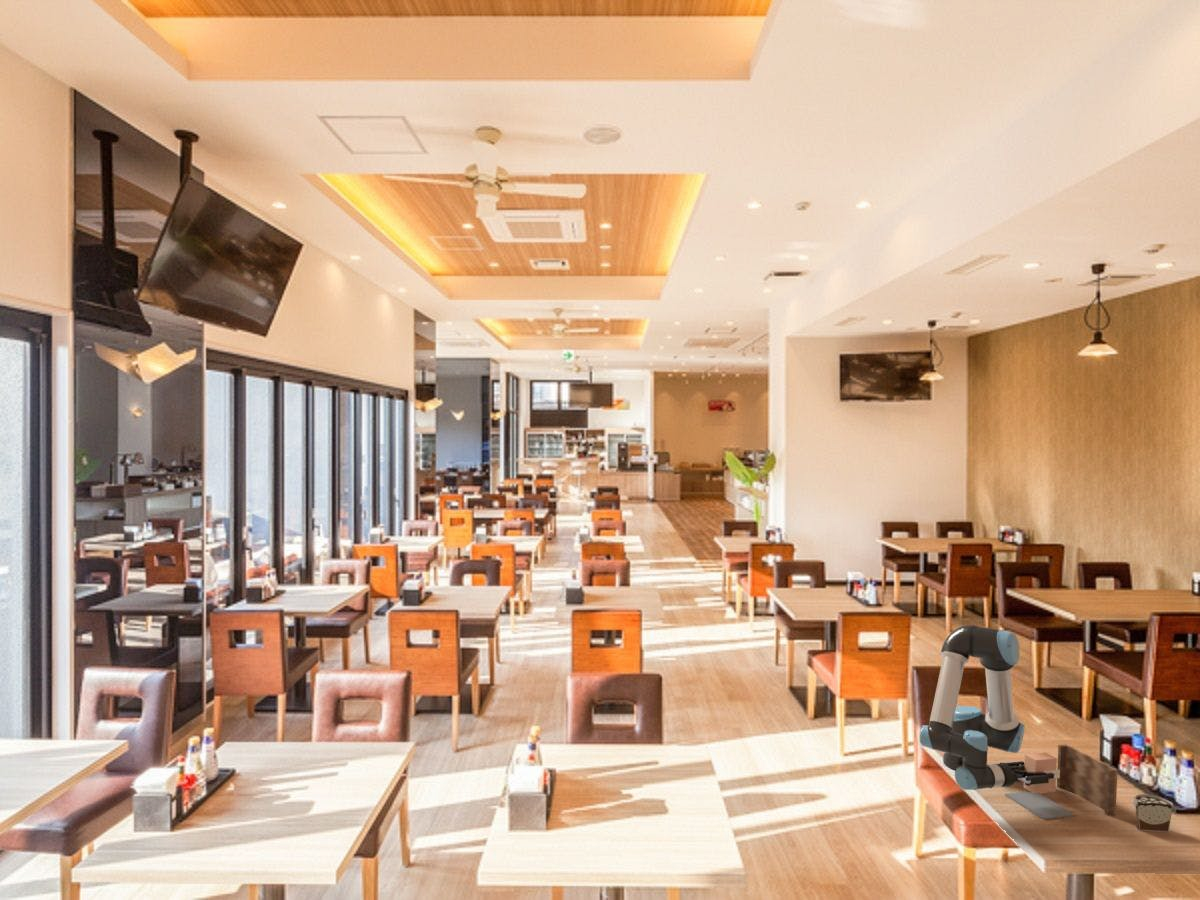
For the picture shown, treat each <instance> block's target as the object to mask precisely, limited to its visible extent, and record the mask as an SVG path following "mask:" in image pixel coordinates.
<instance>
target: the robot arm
mask: <svg viewBox="0 0 1200 900" xmlns="http://www.w3.org/2000/svg"><path fill="white" fill-rule="evenodd" d="M940 651H941V652H940V657H942V659H941V665H940V670H939V675H938V679H937V684H936V689H935V694H934V698H933V703H932V709H931V713H930V718H929V722H928V723H929V724H928V725H925V724H924V725H922V726H921V728H920V731H919V743H920V744H921V746H923V747H926V748H928V749H930V750H934V751H938V752H942V753H943V755H942V758H943V759H942V761H943V762H942V763H943V764H944V765H945V766H946V767H947V768H949V769H951V770H954V771H955V772H954V779H955V782H956V783H957V785H958V786H959V787H960V789H962V790H965V791H971V790H972V791H976V790H982V789H983V790H984V789H993V788H1002V787H1003V788H1004V787H1011V786H1013V785H1014V783H1015V782H1017V783H1021V782H1023V783H1024V782H1025V785H1027V786H1029V785H1032V784H1043V783H1049V779H1054V778H1056V779H1057V778H1060V770H1057V769H1056V770H1049V771H1043V772H1026V771H1025V770H1024V765H1025V761H1013V762H999V763H991V764H990V763H989V764H988V752H989V751H988V750H989V748H993V749H996V750H1000V751H1004V752H1006V753H1013V754H1015V753H1016V754H1017V753H1019V752H1020V751H1021V747H1022V743H1023V740H1024V739H1023V738H1024V735H1025V728H1026V727H1025V724H1024V723H1023V722H1020V719H1019V716H1017V714H1016V713H1015V711H1014V697H1013V695H1014V694H1013V683H1012V669H1014V667H1015V666H1016V665H1017V664H1018V663H1019V660H1020V654H1021V653H1020V643H1019V639H1018V637H1017V635H1016V634H1015V633H1014V632H1012V631H1007V630H1005V629H996V628H990V627H985V626H979V625H975V624H964V625H962V626H959V627H957V628H956V629H954V630H953V631H952V632H951V633H949V635H948V636H947V637H946V638H945V640H944V642H943V644H942V646H941V650H940ZM970 657H972V658H976V659H977V658H978V659H979V662H980V665H981V666H982V667H983V668H984V670H985V683H986V691H987V692H986V693H987V704H988V705H987V707H988V712H987V711H986V714H984V713H983V711H982V708H980V707H977V706H972V705H958V706H957V704H958V698H959V693H960V689H961V683H962V678H963V673H964V669H965V664H968V662H969V660H970V659H969V658H970Z"/></svg>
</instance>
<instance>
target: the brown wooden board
mask: <svg viewBox="0 0 1200 900" xmlns="http://www.w3.org/2000/svg"><path fill="white" fill-rule="evenodd" d="M1056 770H1060V778H1056V788H1059V789H1064V788H1065V789H1066V790H1068V791H1071V792H1072V793H1073V794H1076V795H1077V796H1078V797H1079V796H1080V797H1081V798H1082V799H1084V800H1086V801H1088V802H1090V803H1091V804H1093V805H1095V806H1097V807H1099V808H1100V809H1101V810H1102V809H1103V810H1104V815H1106V816H1108V817H1109V816H1115V815H1116V813H1117V793H1118V791H1117V790H1118V774H1119V773H1118V770H1119V769H1117V768H1114V767H1112V766H1111V765H1108V764H1107V763H1105V762H1102V761H1100V760H1098V759H1097V758H1095V757H1092V756H1091V755H1089V754H1087V753H1085V752H1082V751H1080V750H1078V749H1077V748H1074V747H1073V746H1070V745H1068V744H1066V743H1065V744H1058V746H1057V767H1056Z"/></svg>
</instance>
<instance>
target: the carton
mask: <svg viewBox="0 0 1200 900" xmlns="http://www.w3.org/2000/svg"><path fill="white" fill-rule="evenodd" d="M1024 764H1025V765H1024V770H1025V771H1026V772H1043V771H1049V770H1057V767H1058V757H1055V756H1053V755H1051V754H1049V753H1047V752H1040V753H1039V752H1038V753H1025V754H1024ZM1023 788H1024V789H1026V791H1031V792H1032V793H1034V794H1037V793H1040V794H1047V793H1055V792H1056V789H1057V778H1054V779H1049V783H1043V784H1032V785H1029V786H1027V785H1025V782H1023Z"/></svg>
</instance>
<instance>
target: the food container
mask: <svg viewBox="0 0 1200 900" xmlns="http://www.w3.org/2000/svg"><path fill="white" fill-rule="evenodd" d="M1132 805H1133V806H1135V815H1136V816H1135V820H1136V828H1137V830H1138V831H1147V832H1158V833H1169V832H1170V826H1171V819H1172V815H1173V814H1172V813H1173V810H1175V805H1174V803H1173V802H1172V801H1170V800H1168V799H1166V798H1163V797H1160V796H1157V795H1153V794H1143V793H1142V794H1136V795H1135V796H1134V798H1133V801H1132Z"/></svg>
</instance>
